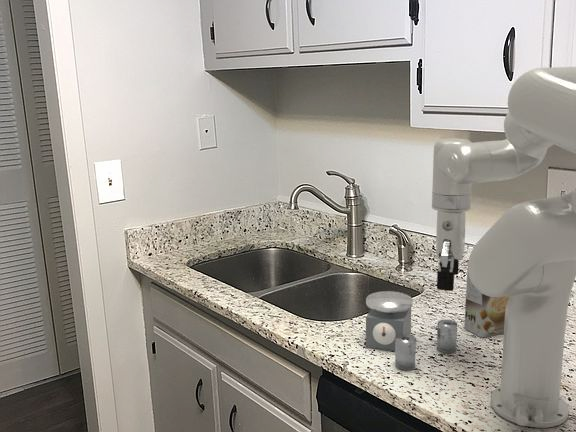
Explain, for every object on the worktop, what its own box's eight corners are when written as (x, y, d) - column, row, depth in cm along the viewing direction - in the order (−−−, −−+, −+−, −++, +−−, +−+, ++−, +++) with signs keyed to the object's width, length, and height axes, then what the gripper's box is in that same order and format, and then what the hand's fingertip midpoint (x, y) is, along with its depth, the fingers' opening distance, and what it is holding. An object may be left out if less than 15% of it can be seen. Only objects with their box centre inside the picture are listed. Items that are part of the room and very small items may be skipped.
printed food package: (481, 339, 132) (485, 269, 128) (463, 328, 138) (466, 261, 134) (515, 331, 135) (519, 263, 131) (495, 321, 141) (499, 255, 137)
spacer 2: (455, 355, 125) (456, 328, 123) (435, 352, 126) (436, 325, 125) (457, 346, 128) (458, 320, 127) (437, 344, 130) (438, 318, 128)
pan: (408, 321, 125) (408, 310, 124) (361, 316, 128) (361, 305, 128) (415, 304, 134) (416, 293, 133) (371, 299, 137) (371, 289, 137)
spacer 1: (413, 372, 118) (414, 344, 117) (393, 369, 120) (393, 341, 118) (416, 363, 122) (417, 335, 120) (397, 360, 123) (397, 333, 122)
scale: (402, 353, 126) (402, 322, 124) (364, 348, 129) (364, 318, 127) (410, 333, 136) (411, 304, 134) (375, 328, 139) (376, 300, 137)
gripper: (467, 212, 111) (462, 298, 115) (473, 193, 127) (469, 270, 131) (425, 209, 113) (423, 294, 118) (437, 191, 129) (434, 266, 133)
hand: (447, 281), depth 124 cm, fingers open, 9 cm apart
